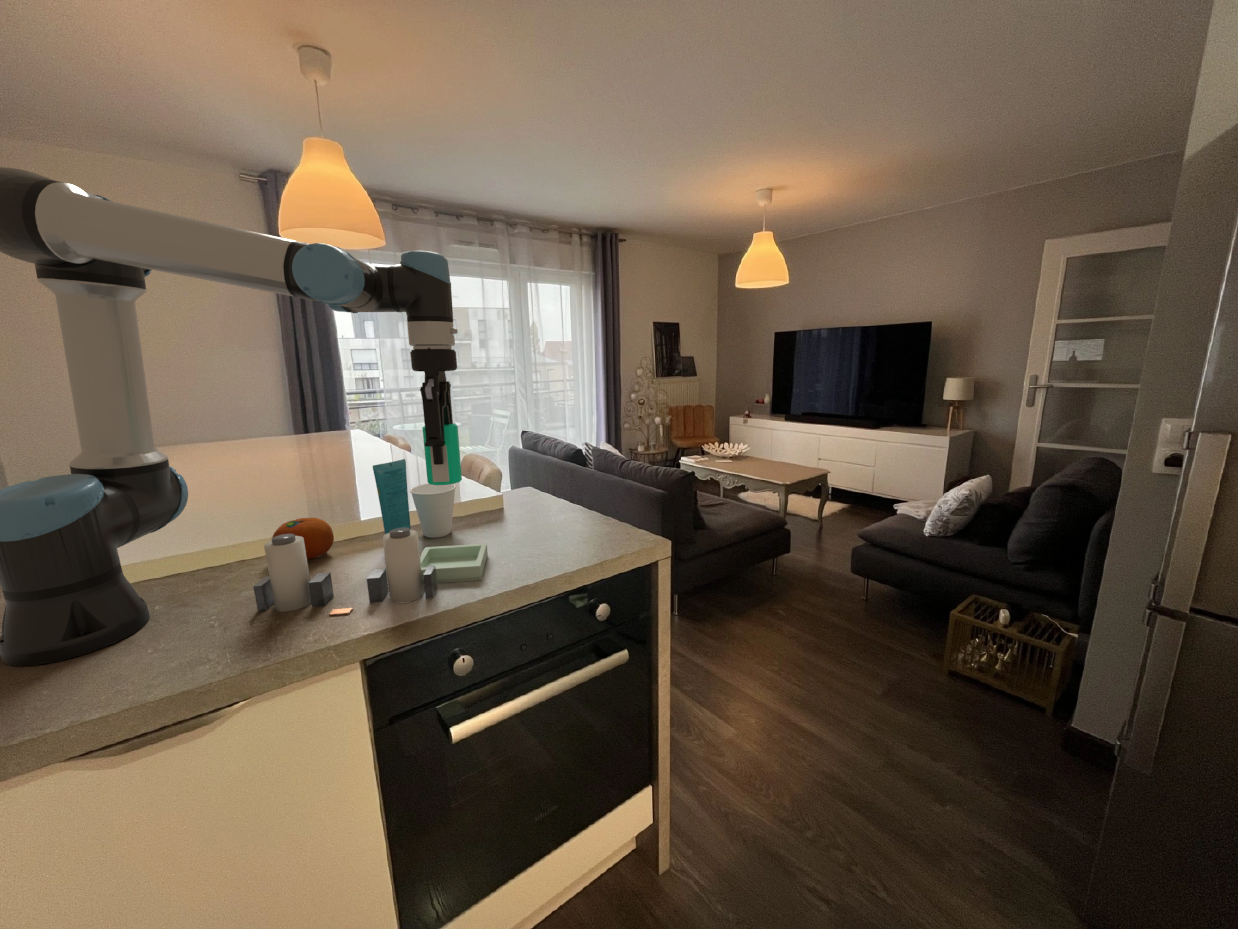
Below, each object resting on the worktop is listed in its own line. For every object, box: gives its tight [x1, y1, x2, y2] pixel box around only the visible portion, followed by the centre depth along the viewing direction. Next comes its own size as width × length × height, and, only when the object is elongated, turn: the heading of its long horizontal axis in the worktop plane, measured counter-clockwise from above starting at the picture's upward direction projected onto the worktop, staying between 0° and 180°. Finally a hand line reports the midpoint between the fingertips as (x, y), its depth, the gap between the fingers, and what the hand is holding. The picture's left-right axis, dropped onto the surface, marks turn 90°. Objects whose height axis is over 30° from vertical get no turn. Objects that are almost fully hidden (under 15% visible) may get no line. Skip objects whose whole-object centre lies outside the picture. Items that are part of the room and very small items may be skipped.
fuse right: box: [382, 527, 425, 604], centre depth 84 cm, size 5×5×12 cm
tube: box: [372, 458, 412, 535], centre depth 103 cm, size 7×5×19 cm, turn 156°
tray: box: [420, 543, 489, 585], centre depth 95 cm, size 12×11×3 cm
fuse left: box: [263, 534, 311, 613], centre depth 82 cm, size 5×5×12 cm
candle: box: [421, 422, 463, 485], centre depth 91 cm, size 6×6×12 cm
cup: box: [409, 482, 457, 539], centre depth 114 cm, size 10×10×11 cm
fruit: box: [271, 517, 335, 561], centre depth 101 cm, size 11×10×8 cm
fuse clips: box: [253, 566, 438, 617], centre depth 82 cm, size 27×7×4 cm, turn 98°
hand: (444, 477), depth 92 cm, fingers closed on candle, 5 cm apart
